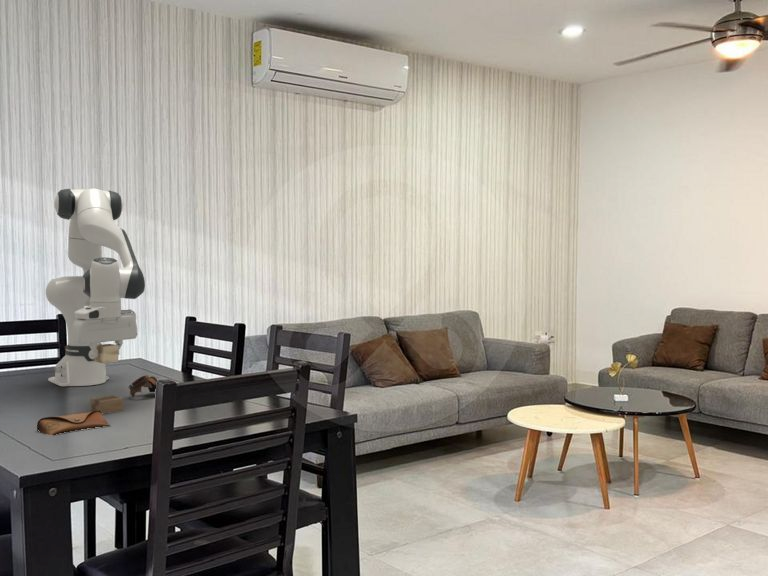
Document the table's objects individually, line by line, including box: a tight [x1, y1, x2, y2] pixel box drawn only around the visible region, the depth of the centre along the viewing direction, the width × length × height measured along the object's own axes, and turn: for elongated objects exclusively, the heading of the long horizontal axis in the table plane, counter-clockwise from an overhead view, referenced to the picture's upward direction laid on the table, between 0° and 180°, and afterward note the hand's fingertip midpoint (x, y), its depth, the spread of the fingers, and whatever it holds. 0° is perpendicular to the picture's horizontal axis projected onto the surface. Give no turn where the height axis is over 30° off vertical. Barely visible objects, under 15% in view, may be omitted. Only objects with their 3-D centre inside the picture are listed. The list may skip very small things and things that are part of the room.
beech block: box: [94, 343, 119, 364], centre depth 233 cm, size 5×5×5 cm
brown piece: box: [128, 374, 158, 398], centre depth 255 cm, size 12×10×8 cm
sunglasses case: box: [36, 410, 111, 436], centre depth 212 cm, size 18×7×7 cm, turn 134°
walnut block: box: [90, 394, 124, 415], centre depth 234 cm, size 7×7×4 cm
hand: (106, 356), depth 233 cm, fingers closed on beech block, 5 cm apart
